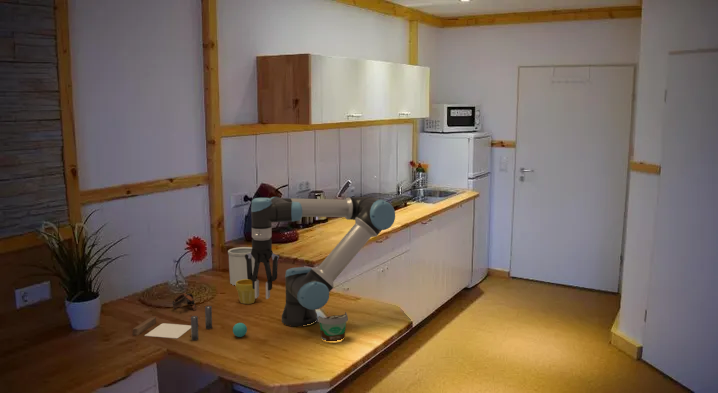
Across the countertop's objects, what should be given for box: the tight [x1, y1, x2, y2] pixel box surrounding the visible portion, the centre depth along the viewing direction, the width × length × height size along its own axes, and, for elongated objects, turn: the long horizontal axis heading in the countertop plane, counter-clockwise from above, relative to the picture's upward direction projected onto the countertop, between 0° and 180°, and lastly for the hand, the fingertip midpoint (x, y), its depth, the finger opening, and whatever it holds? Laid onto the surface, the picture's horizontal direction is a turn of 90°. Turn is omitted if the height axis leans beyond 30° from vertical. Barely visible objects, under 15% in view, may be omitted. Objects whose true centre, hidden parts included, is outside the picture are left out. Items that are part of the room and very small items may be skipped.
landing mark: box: [144, 322, 191, 339], centre depth 236 cm, size 14×14×1 cm
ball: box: [232, 322, 248, 338], centre depth 231 cm, size 6×6×6 cm
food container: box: [317, 311, 349, 341], centre depth 227 cm, size 12×6×10 cm, turn 117°
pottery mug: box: [171, 292, 197, 312], centre depth 264 cm, size 12×10×8 cm
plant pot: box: [235, 279, 256, 305], centre depth 274 cm, size 10×10×10 cm
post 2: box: [204, 305, 213, 330], centre depth 239 cm, size 3×3×9 cm
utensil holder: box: [227, 246, 255, 287], centre depth 305 cm, size 15×15×18 cm
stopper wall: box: [132, 316, 157, 336], centre depth 238 cm, size 2×14×2 cm, turn 170°
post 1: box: [190, 315, 199, 341], centre depth 227 cm, size 3×3×9 cm
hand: (262, 297), depth 227 cm, fingers open, 4 cm apart
